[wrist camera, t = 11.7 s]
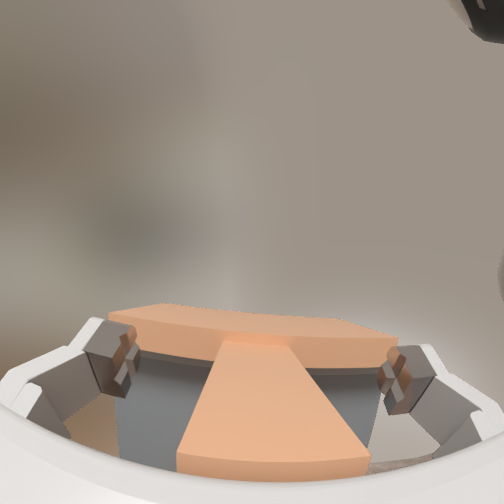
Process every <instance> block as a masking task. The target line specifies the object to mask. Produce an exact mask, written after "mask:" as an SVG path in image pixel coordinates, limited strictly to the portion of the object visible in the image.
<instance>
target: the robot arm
mask: <svg viewBox="0 0 504 504" xmlns="http://www.w3.org/2000/svg"><path fill="white" fill-rule="evenodd" d="M447 1H448V3H449V5H450V6H451V8H452V9H453V10H454V12H455V13H456V14H457V15H458V17H459V18H460V19H461V20H462V21H463V22H464V23H465V24H466V25H467V26H468V27H469V29H470V30H471V31H472V32H473V33H474V34H475V35H477V36H478V37H479V38H481V39H482V40H484V41H488V42H493V43H501V44H504V0H447ZM498 285H499V289H500V293H501V296H502V299H503V301H504V250H503V253H502V256H501V258H500V262H499V267H498ZM136 338H137V332H136V328H135V327H134V326H132V325H128V324H123V323H119V322H114V321H110V320H104V319H100V318H96V317H92V318H90V319H89V320H88V321H87V323H86V324H85V325H84V326H83V328H82V329H81V330H80V332H79V333H78V334H77V335H76V337H75V338H74V339H73V341H72V342H71V343H70V345H69V346H62V347H60V348H58V349H56V350H53V351H51V352H49V353H47V354H45V355H42V356H40V357H38V358H35V359H33V360H31V361H29V362H26V363H24V364H22V365H20V366H17V367H15V368H13V369H11V370H9V371H8V372H7V373H6V375H5V376H4V377H3V379H2V380H1V381H0V504H504V414H503V412H502V411H501V409H500V407H499V405H498V404H497V403H496V402H495V401H493V400H492V399H490V398H489V397H487V396H486V395H484V394H483V393H481V392H480V391H478V390H476V389H475V388H473V387H472V386H470V385H469V384H467V383H466V382H464V381H463V380H461V379H459V378H458V377H456V376H455V375H453V374H449V373H448V372H447V370H446V368H445V367H444V365H443V363H442V362H441V360H440V359H439V357H438V355H437V354H436V352H435V351H434V349H433V348H432V346H431V345H429V344H420V345H409V346H392V347H391V348H390V349H389V350H388V352H387V354H386V357H387V361H386V362H384V363H383V364H382V365H381V367H380V369H379V371H378V377H377V383H378V387H379V390H380V392H382V393H383V394H384V395H385V398H384V404H385V407H386V409H387V412H388V415H398V414H405V413H410V415H411V416H412V417H413V418H414V419H415V420H416V421H417V422H418V423H419V424H420V425H421V426H422V427H423V428H424V429H425V430H426V431H427V432H428V433H429V434H430V435H431V436H432V437H433V438H434V439H435V440H436V441H437V442H438V443H439V444H440V445H441V446H440V447H439V448H438V449H437V450H436V451H435V452H434V453H433V455H432V459H433V460H429V461H426V462H423V463H419V464H415V465H412V466H408V467H404V468H399V469H395V470H390V471H386V472H381V473H375V474H370V475H364V476H357V477H350V478H342V479H333V480H321V481H305V482H255V481H238V480H227V479H218V478H209V477H202V476H195V475H189V474H184V473H178V472H173V471H168V470H163V469H159V468H155V467H150V466H146V465H143V464H139V463H135V462H132V461H128V460H125V459H121V458H118V457H115V456H112V455H109V454H106V453H103V452H100V451H97V450H95V449H92V448H89V447H87V446H84V445H81V444H79V443H76V442H74V441H72V440H70V439H71V435H70V433H69V431H68V430H67V429H66V427H65V425H64V424H63V422H64V421H65V420H66V419H68V418H69V417H70V416H72V415H73V414H75V413H76V412H78V411H79V410H80V409H82V408H83V407H84V406H86V405H87V404H89V403H90V402H91V401H93V400H94V399H96V398H97V397H98V396H100V395H101V393H104V394H108V395H112V396H116V397H120V398H124V399H125V398H126V396H127V393H128V391H129V389H130V387H131V384H132V383H131V379H130V377H132V376H133V375H135V374H136V373H137V371H138V368H139V364H140V347H139V346H138V344H137V343H136V342H135V340H136Z"/></svg>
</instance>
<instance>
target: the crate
mask: <svg viewBox="0 0 504 504" xmlns="http://www.w3.org/2000/svg"><path fill="white" fill-rule="evenodd" d="M213 364H214V361H209V360H201V359H193V358H186V357H180V356H173V355H167V354H161V353H156V352H150V351H145V350H140V364H139V368H138V371H137V373H136V374H135V375H133V376H132V377H130V379H131V383H132V384H131V387H130V389H129V391H128V393H127V396H126V398H125V399H124V398H120V397H116V396H115V408H116V423H117V434H118V444H119V454H120V458H121V459H125V460H128V461H132V462H135V463H139V464H143V465H146V466H150V467H155V468H159V469H163V470H168V471H173V472H177V465H176V452H177V449H178V447H179V445H180V442H181V440H182V438H183V435H184V433H185V430H186V428H187V426H188V423H189V421H190V419H191V416H192V414H193V411H194V409H195V407H196V404H197V402H198V400H199V397H200V395H201V392H202V390H203V388H204V385H205V383H206V380H207V378H208V376H209V373H210V371H211V368H212V366H213ZM305 369H306V371H307V372H308V373H309V375H310V376H311V377H312V379H313V380H314V381H315V383H316V384H317V385H318V387H319V388H320V389H321V391H322V392H323V393H324V395H325V396H326V397H327V399H328V400H329V401H330V403H331V404H332V405H333V406H334V408H335V409H336V410H337V412H338V413H339V414H340V416H341V417H342V418H343V419H344V421H345V422H346V423H347V425H348V426H349V427H350V428H351V430H352V431H353V432H354V434H355V435H356V436H357V437H358V439H359V440H360V441H361V442H362V444H363V445H364V446H365V447H366V449H367V447H368V443H369V440H370V436H371V433H372V429H373V425H374V421H375V417H376V413H377V408H378V404H379V400H380V395H381V392H380V390H379V387H378V383H377V377H378V371H379V369H380V367H371V368H305Z"/></svg>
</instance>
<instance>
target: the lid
mask: <svg viewBox="0 0 504 504" xmlns="http://www.w3.org/2000/svg"><path fill="white" fill-rule="evenodd" d="M109 320H110V321H114V322H119V323H123V324H128V325H132V326H134V327H135V328H136V332H137V338H136V340H135V342H136V343H137V344H138V346H139V347H140V350H145V351H150V352H156V353H161V354H167V355H173V356H180V357H186V358H193V359H201V360H209V361H214V364H213V366H212V368H211V371H210V373H209V376H208V378H207V380H206V383H205V385H204V388H203V390H202V392H201V395H200V397H199V400H198V402H197V404H196V407H195V409H194V411H193V414H192V416H191V419H190V421H189V423H188V426H187V428H186V430H185V433H184V435H183V438H182V440H181V442H180V445H179V447H178V449H177V452H176V465H177V472H178V473H184V474H189V475H195V476H202V477H209V478H218V479H227V480H238V481H255V482H305V481H321V480H333V479H342V478H350V477H357V476H364V475H365V474H366V471H367V468H368V465H369V462H370V459H371V456H372V455H371V454H370V453H369V452H368V450H367V449H366V447H365V446H364V445H363V444H362V442H361V441H360V440H359V439H358V437H357V436H356V435H355V434H354V432H353V431H352V430H351V428H350V427H349V426H348V425H347V423H346V422H345V421H344V419H343V418H342V417H341V416H340V414H339V413H338V412H337V410H336V409H335V408H334V406H333V405H332V404H331V403H330V401H329V400H328V399H327V397H326V396H325V395H324V393H323V392H322V391H321V389H320V388H319V387H318V385H317V384H316V383H315V381H314V380H313V379H312V377H311V376H310V375H309V373H308V372H307V371H306V369H305V368H371V367H381V365H382V364H383V363H384V362H386V361H387V357H386V354H387V352H388V350H389V349H390V348H391V347H392V346H397V344H398V337H395V336H391V335H388V334H385V333H381V332H378V331H375V330H372V329H369V328H365V327H362V326H359V325H356V324H353V323H350V322H347V321H344V320H341V319H333V318H314V317H298V316H283V315H270V314H257V313H247V312H237V311H227V310H217V309H208V308H200V307H192V306H184V305H176V304H169V303H161V304H155V305H150V306H144V307H139V308H133V309H128V310H122V311H116V312H110V313H109Z"/></svg>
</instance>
